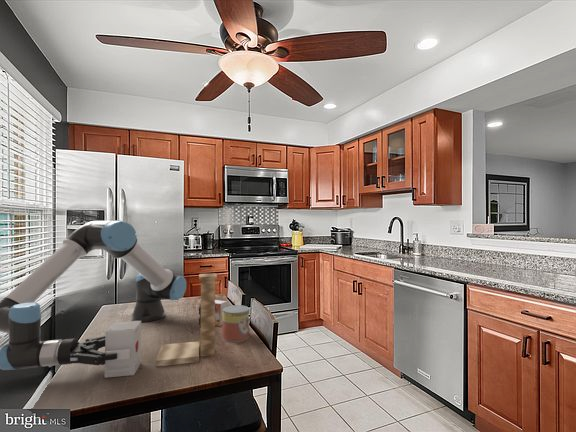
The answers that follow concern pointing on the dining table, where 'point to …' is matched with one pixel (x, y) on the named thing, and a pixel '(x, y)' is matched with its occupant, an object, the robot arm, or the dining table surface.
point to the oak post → (207, 313)
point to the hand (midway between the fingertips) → (134, 345)
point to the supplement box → (123, 348)
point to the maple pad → (178, 353)
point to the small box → (219, 311)
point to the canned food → (235, 323)
